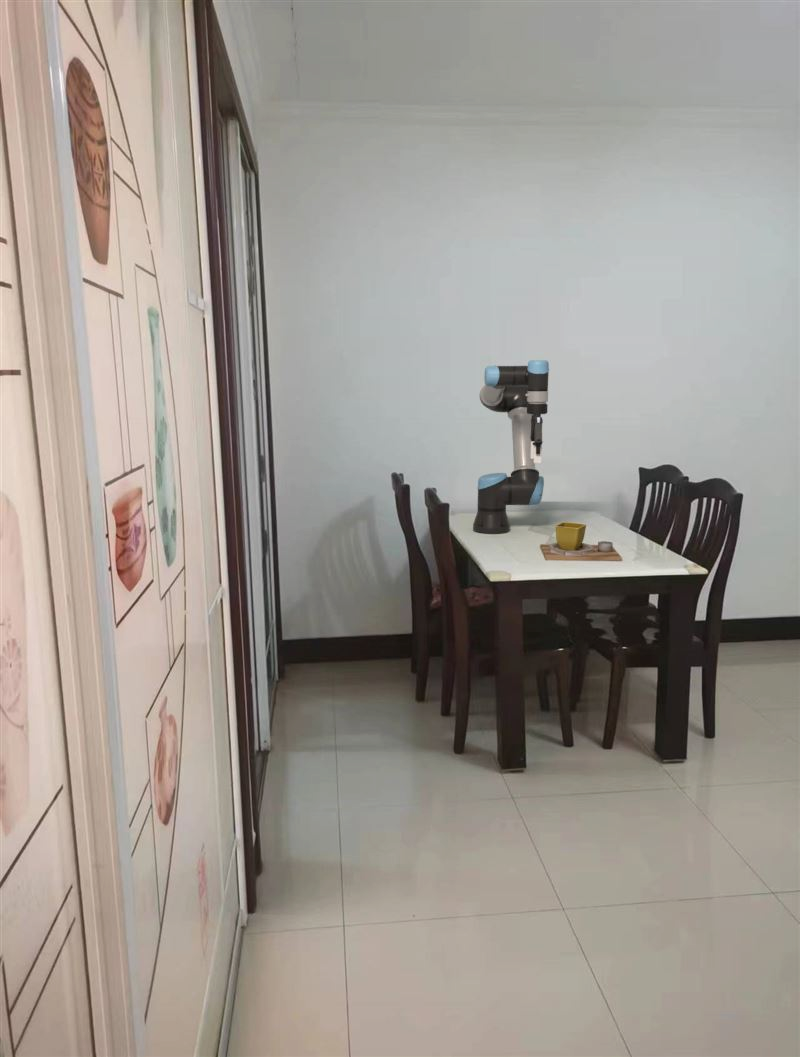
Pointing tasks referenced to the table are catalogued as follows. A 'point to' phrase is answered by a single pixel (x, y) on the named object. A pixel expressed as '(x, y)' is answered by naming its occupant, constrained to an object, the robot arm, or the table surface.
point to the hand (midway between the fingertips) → (535, 460)
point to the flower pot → (570, 535)
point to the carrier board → (582, 552)
